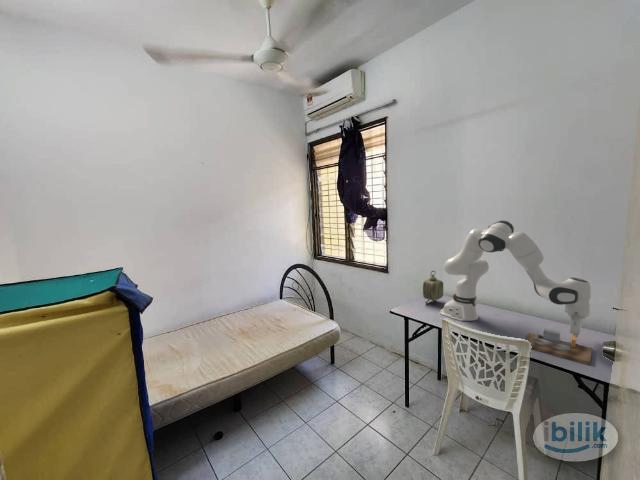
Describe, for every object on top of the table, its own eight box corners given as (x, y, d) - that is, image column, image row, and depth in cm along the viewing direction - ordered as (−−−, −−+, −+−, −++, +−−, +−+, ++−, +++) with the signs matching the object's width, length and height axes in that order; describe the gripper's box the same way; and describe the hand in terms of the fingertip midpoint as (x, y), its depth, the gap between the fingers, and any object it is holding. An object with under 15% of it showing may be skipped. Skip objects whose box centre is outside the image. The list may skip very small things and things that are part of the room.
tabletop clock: (432, 299, 208) (432, 268, 205) (444, 301, 201) (444, 269, 198) (423, 304, 199) (422, 271, 196) (434, 307, 192) (434, 273, 189)
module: (543, 343, 133) (543, 330, 132) (543, 341, 135) (544, 328, 134) (558, 347, 129) (559, 334, 128) (559, 345, 131) (560, 331, 130)
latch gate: (571, 346, 129) (571, 339, 128) (572, 342, 133) (572, 334, 132) (574, 347, 128) (575, 340, 127) (575, 342, 132) (576, 335, 132)
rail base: (522, 346, 134) (523, 339, 134) (529, 335, 145) (529, 328, 144) (590, 365, 117) (590, 356, 116) (591, 350, 127) (592, 343, 127)
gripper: (584, 318, 123) (582, 346, 124) (587, 305, 136) (585, 331, 138) (566, 314, 127) (564, 341, 129) (570, 303, 141) (568, 327, 143)
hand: (575, 336), depth 134 cm, fingers closed
